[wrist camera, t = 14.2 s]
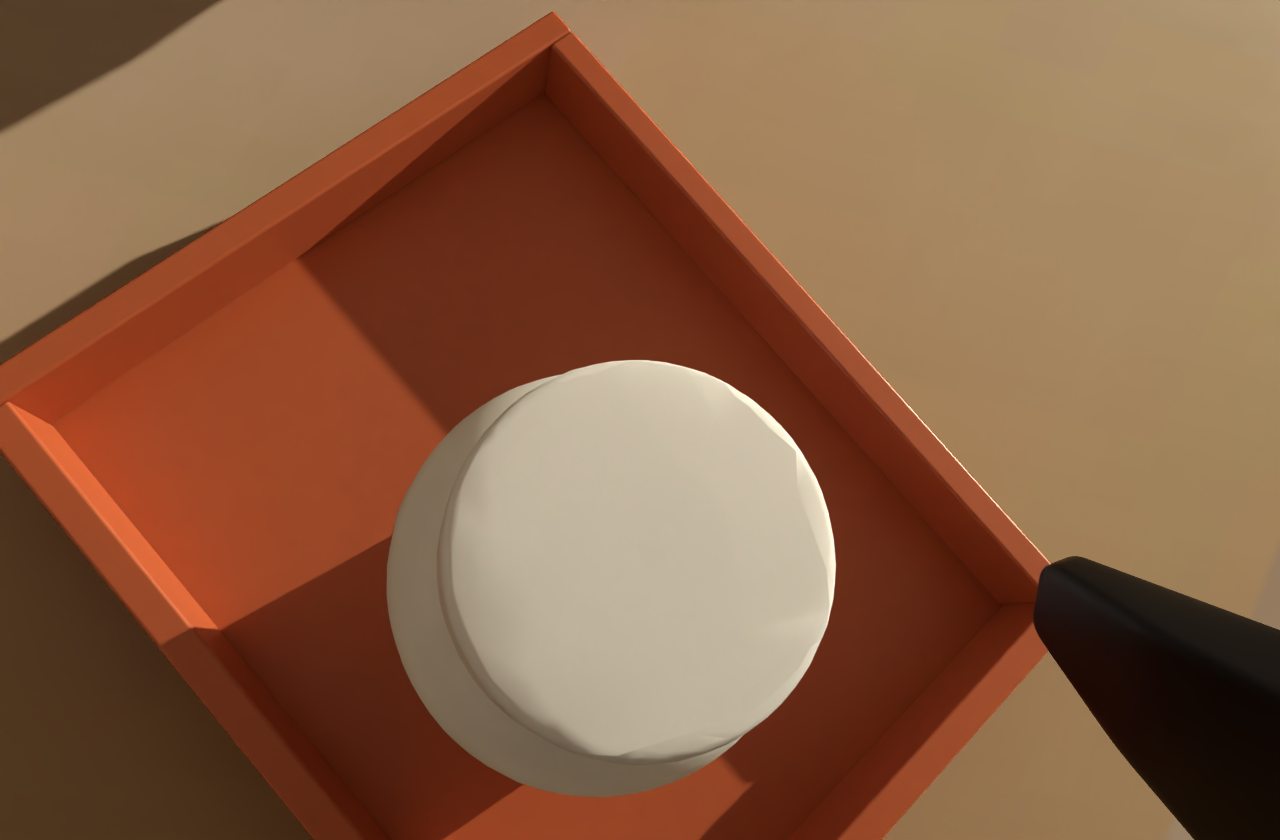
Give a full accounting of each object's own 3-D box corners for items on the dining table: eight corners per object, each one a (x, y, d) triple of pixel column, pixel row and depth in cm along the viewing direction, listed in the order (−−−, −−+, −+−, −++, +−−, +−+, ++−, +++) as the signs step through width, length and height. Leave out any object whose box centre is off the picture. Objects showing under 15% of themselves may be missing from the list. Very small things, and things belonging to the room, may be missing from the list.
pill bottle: (368, 697, 17) (258, 748, 8) (466, 432, 19) (467, 219, 10) (644, 781, 18) (836, 919, 9) (717, 516, 19) (948, 391, 10)
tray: (1015, 610, 21) (1090, 605, 18) (567, 1100, 17) (585, 1176, 14) (543, 82, 22) (553, 8, 19) (22, 429, 18) (-49, 394, 16)
